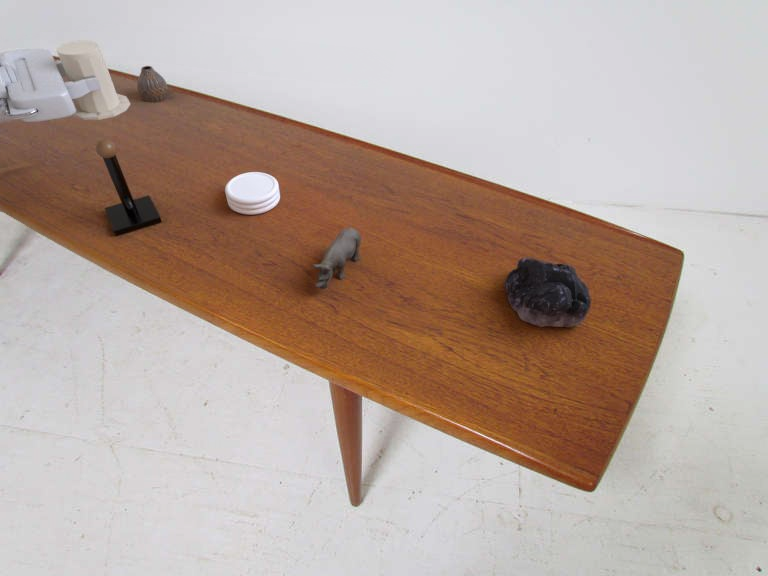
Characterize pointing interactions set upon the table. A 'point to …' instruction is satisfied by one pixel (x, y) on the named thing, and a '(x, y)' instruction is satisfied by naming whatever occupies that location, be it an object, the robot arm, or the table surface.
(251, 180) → the white round stack
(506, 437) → the table surface
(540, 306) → the crystal cluster
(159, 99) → the vase
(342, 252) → the rhino figurine
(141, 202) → the stand
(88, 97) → the hat
